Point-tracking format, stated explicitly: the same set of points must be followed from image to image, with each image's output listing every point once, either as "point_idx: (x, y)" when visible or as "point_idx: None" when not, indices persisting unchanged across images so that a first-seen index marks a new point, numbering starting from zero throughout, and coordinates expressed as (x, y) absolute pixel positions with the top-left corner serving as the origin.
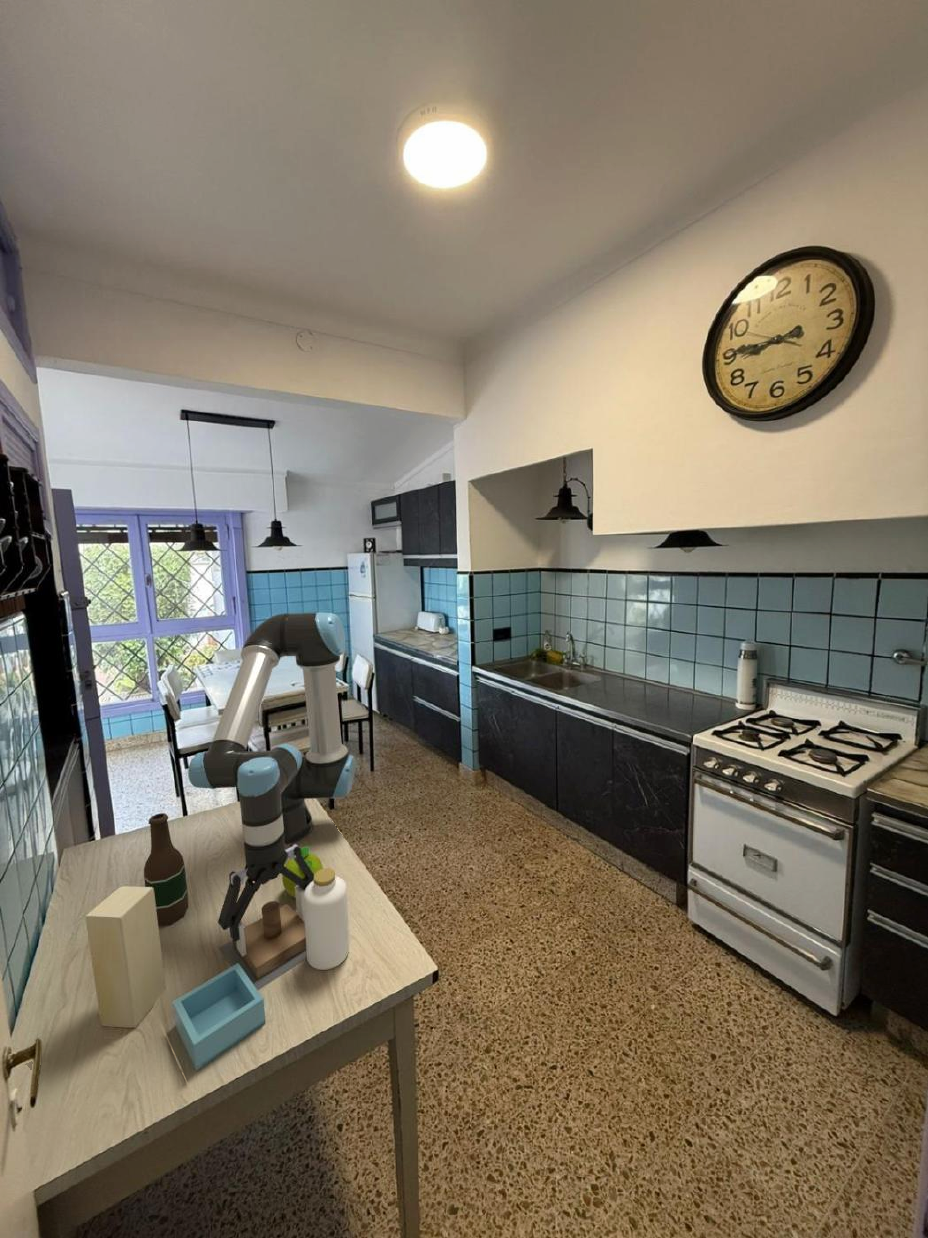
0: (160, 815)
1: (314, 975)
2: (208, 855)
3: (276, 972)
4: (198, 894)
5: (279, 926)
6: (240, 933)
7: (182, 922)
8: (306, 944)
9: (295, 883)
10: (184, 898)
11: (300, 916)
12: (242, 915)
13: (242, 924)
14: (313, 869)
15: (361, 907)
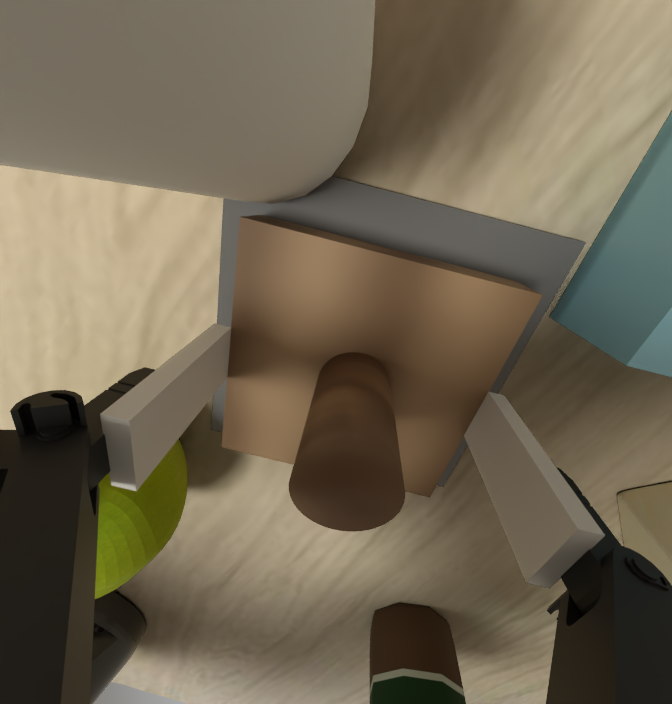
0: None
1: (384, 49)
2: (248, 662)
3: (451, 241)
4: (333, 619)
5: (339, 374)
6: (566, 487)
7: (411, 595)
8: (353, 106)
9: (136, 495)
10: (392, 661)
11: (225, 353)
12: (626, 616)
13: (581, 533)
14: None
15: (5, 199)
